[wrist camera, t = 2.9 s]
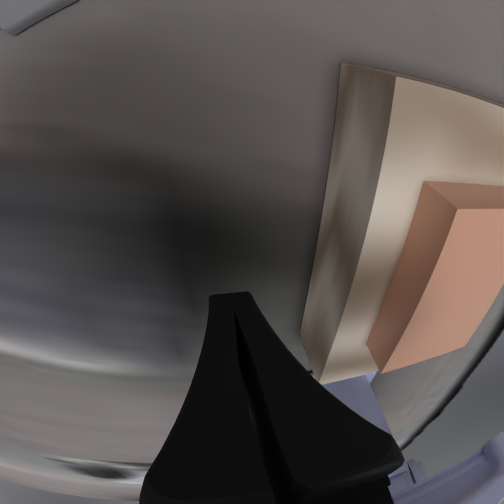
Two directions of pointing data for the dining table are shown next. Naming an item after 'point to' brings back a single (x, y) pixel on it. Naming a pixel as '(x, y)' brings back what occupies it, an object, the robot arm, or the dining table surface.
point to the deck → (385, 198)
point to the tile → (442, 275)
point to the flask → (27, 13)
